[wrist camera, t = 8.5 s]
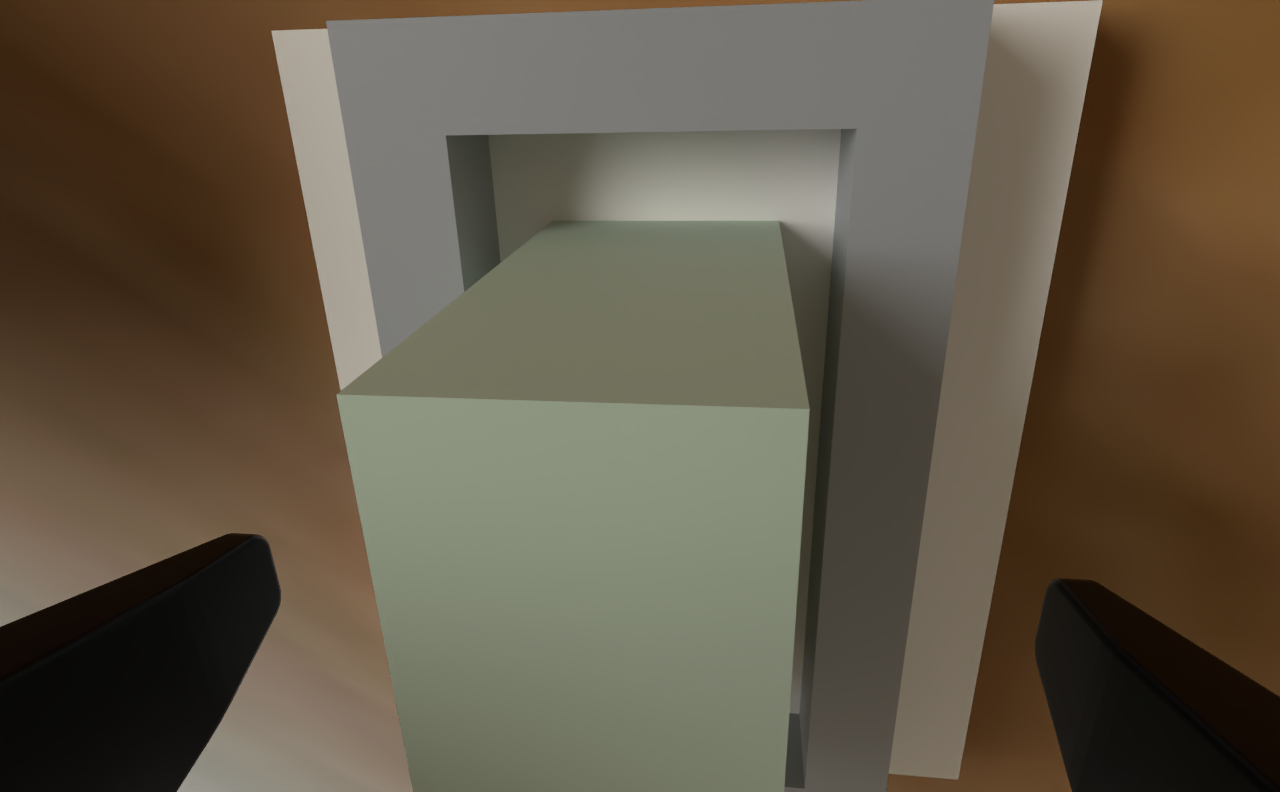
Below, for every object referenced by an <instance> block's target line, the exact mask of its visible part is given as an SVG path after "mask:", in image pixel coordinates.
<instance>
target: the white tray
mask: <svg viewBox="0 0 1280 792" xmlns="http://www.w3.org/2000/svg"><path fill="white" fill-rule="evenodd" d="M1102 1H1103V0H1099V1H1072V2H1044V3H1017V4H994V0H866V1H840V2H813V3H787V4H760V5H734V6H708V7H681V8H655V9H629V10H602V11H576V12H549V13H523V14H497V15H470V16H444V17H418V18H391V19H365V20H338V21H326V24H327V29H305V30H277V31H271V32H272V37H273V42H274V47H275V52H276V58H277V63H278V68H279V73H280V78H281V84H282V89H283V94H284V99H285V104H286V110H287V115H288V120H289V125H290V130H291V136H292V141H293V146H294V151H295V156H296V162H297V167H298V172H299V177H300V182H301V187H302V193H303V198H304V203H305V208H306V213H307V219H308V224H309V229H310V234H311V239H312V245H313V250H314V255H315V260H316V265H317V271H318V276H319V281H320V286H321V291H322V297H323V302H324V307H325V312H326V317H327V323H328V328H329V333H330V338H331V343H332V348H333V354H334V359H335V364H336V369H337V374H338V380H339V385H340V390H343V389H344V388H345V387H346V386H347V385H349V384H350V383H351V382H352V381H354V380H355V379H356V378H357V377H359V376H360V375H361V374H362V373H364V372H365V371H366V370H367V369H369V368H370V367H371V366H372V365H374V364H375V363H376V362H377V361H379V360H380V359H381V358H382V357H384V356H385V355H386V354H387V353H389V352H390V351H391V350H392V349H394V348H395V347H396V346H397V345H399V344H400V343H401V342H402V341H404V340H405V339H406V338H407V337H409V336H410V335H411V334H412V333H414V332H415V331H416V330H417V329H419V328H420V327H421V326H422V325H424V324H425V323H426V322H427V321H429V320H430V319H431V318H432V317H434V316H435V315H436V314H437V313H439V312H440V311H441V310H442V309H444V308H445V307H446V306H447V305H449V304H450V303H451V302H452V301H454V300H455V299H456V298H457V297H459V296H460V295H461V294H462V293H464V292H465V291H466V290H467V289H469V288H470V287H471V286H472V285H474V284H475V283H476V282H477V281H479V280H480V279H481V278H482V277H484V276H485V275H486V274H487V273H489V272H490V271H491V270H492V269H494V268H495V267H496V266H497V265H499V264H500V263H501V262H502V261H504V260H505V259H506V258H507V257H509V256H510V255H511V254H512V253H514V252H515V251H516V250H517V249H519V248H520V247H521V246H522V245H524V244H525V243H526V242H527V241H529V240H530V239H531V238H532V237H534V236H535V235H536V234H537V233H539V232H540V231H541V230H542V229H544V228H545V227H546V226H547V225H549V224H550V223H551V222H552V221H779V224H780V230H781V236H782V242H783V249H784V255H785V261H786V267H787V273H788V279H789V285H790V291H791V298H792V304H793V310H794V316H795V322H796V328H797V334H798V341H799V347H800V353H801V359H802V365H803V371H804V377H805V383H806V390H807V396H808V402H809V408H810V412H809V427H808V442H807V457H806V472H805V487H804V502H803V517H802V532H801V547H800V562H799V577H798V592H797V607H796V622H795V637H794V652H793V667H792V682H791V697H790V712H789V727H788V742H787V757H786V772H785V787H784V792H886V789H887V782H888V774H898V775H910V776H921V777H932V778H943V779H954V780H958V777H959V772H960V766H961V761H962V756H963V750H964V745H965V740H966V734H967V729H968V723H969V718H970V713H971V707H972V702H973V696H974V691H975V686H976V680H977V675H978V669H979V664H980V659H981V653H982V648H983V643H984V637H985V632H986V626H987V621H988V616H989V610H990V605H991V599H992V594H993V589H994V583H995V578H996V573H997V567H998V562H999V556H1000V551H1001V546H1002V540H1003V535H1004V529H1005V524H1006V519H1007V513H1008V508H1009V502H1010V497H1011V492H1012V486H1013V481H1014V476H1015V470H1016V465H1017V459H1018V454H1019V449H1020V443H1021V438H1022V432H1023V427H1024V422H1025V416H1026V411H1027V405H1028V400H1029V395H1030V389H1031V384H1032V379H1033V373H1034V368H1035V362H1036V357H1037V352H1038V346H1039V341H1040V335H1041V330H1042V325H1043V319H1044V314H1045V308H1046V303H1047V298H1048V292H1049V287H1050V282H1051V276H1052V271H1053V265H1054V260H1055V255H1056V249H1057V244H1058V238H1059V233H1060V228H1061V222H1062V217H1063V212H1064V206H1065V201H1066V195H1067V190H1068V185H1069V179H1070V174H1071V168H1072V163H1073V158H1074V152H1075V147H1076V141H1077V136H1078V131H1079V125H1080V120H1081V115H1082V109H1083V104H1084V98H1085V93H1086V88H1087V82H1088V77H1089V71H1090V66H1091V61H1092V55H1093V50H1094V44H1095V39H1096V34H1097V28H1098V23H1099V18H1100V12H1101V7H1102Z"/></svg>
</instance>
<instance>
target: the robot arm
mask: <svg viewBox="0 0 1280 792" xmlns="http://www.w3.org/2000/svg"><path fill="white" fill-rule="evenodd" d="M280 601H281V589H280V585H279V581H278V577H277V573H276V569H275V565H274V561H273V557H272V553H271V549H270V546H269V543H268V542H267V540H266V539H265V538H264V537H262V536H261V535H256V534H239V533H231V534H226V535H223V536H221V537H219V538H216V539H214V540H211V541H209V542H206V543H204V544H201V545H199V546H197V547H194V548H192V549H189V550H187V551H184V552H182V553H179V554H177V555H175V556H172V557H170V558H167V559H165V560H162V561H160V562H158V563H155V564H153V565H150V566H148V567H145V568H143V569H140V570H138V571H136V572H133V573H131V574H128V575H126V576H123V577H121V578H118V579H116V580H114V581H111V582H109V583H106V584H104V585H101V586H99V587H97V588H94V589H92V590H89V591H87V592H84V593H82V594H79V595H77V596H75V597H72V598H70V599H67V600H65V601H62V602H60V603H58V604H55V605H53V606H50V607H48V608H45V609H43V610H40V611H38V612H36V613H33V614H31V615H28V616H26V617H23V618H21V619H18V620H16V621H14V622H11V623H9V624H6V625H4V626H1V627H0V792H177V790H178V789H179V787H180V786H181V784H182V783H183V781H184V779H185V778H186V776H187V775H188V773H189V772H190V770H191V768H192V767H193V765H194V764H195V762H196V761H197V759H198V758H199V756H200V754H201V753H202V751H203V750H204V748H205V747H206V745H207V743H208V742H209V740H210V739H211V737H212V735H213V734H214V732H215V730H216V729H217V727H218V725H219V724H220V722H221V720H222V718H223V716H224V715H225V713H226V711H227V709H228V707H229V705H230V704H231V702H232V700H233V698H234V696H235V694H236V692H237V690H238V688H239V686H240V684H241V682H242V680H243V678H244V676H245V674H246V672H247V670H248V669H249V667H250V665H251V663H252V661H253V659H254V657H255V655H256V653H257V651H258V649H259V647H260V645H261V643H262V641H263V639H264V637H265V635H266V633H267V631H268V629H269V627H270V625H271V624H272V622H273V620H274V618H275V616H276V614H277V611H278V609H279V605H280ZM1035 656H1036V662H1037V666H1038V670H1039V674H1040V677H1041V681H1042V685H1043V688H1044V692H1045V695H1046V699H1047V703H1048V706H1049V710H1050V714H1051V717H1052V721H1053V725H1054V728H1055V732H1056V736H1057V739H1058V743H1059V747H1060V750H1061V754H1062V758H1063V761H1064V765H1065V769H1066V772H1067V776H1068V779H1069V782H1070V786H1071V789H1072V792H1280V697H1279V696H1278V695H1276V694H1274V693H1273V692H1271V691H1270V690H1268V689H1266V688H1265V687H1263V686H1262V685H1260V684H1258V683H1257V682H1255V681H1254V680H1252V679H1250V678H1249V677H1247V676H1246V675H1244V674H1242V673H1241V672H1239V671H1238V670H1236V669H1234V668H1233V667H1231V666H1230V665H1228V664H1226V663H1225V662H1223V661H1222V660H1220V659H1218V658H1217V657H1215V656H1214V655H1212V654H1210V653H1209V652H1207V651H1206V650H1204V649H1203V648H1201V647H1199V646H1198V645H1196V644H1195V643H1193V642H1191V641H1190V640H1188V639H1187V638H1185V637H1183V636H1182V635H1180V634H1179V633H1177V632H1175V631H1174V630H1172V629H1171V628H1169V627H1167V626H1166V625H1164V624H1163V623H1161V622H1159V621H1158V620H1156V619H1155V618H1153V617H1151V616H1150V615H1148V614H1147V613H1145V612H1143V611H1142V610H1140V609H1139V608H1137V607H1136V606H1134V605H1132V604H1131V603H1129V602H1128V601H1126V600H1124V599H1123V598H1121V597H1120V596H1118V595H1116V594H1115V593H1113V592H1112V591H1110V590H1108V589H1107V588H1105V587H1104V586H1102V585H1100V584H1099V583H1097V582H1095V581H1092V580H1080V579H1060V578H1057V579H1054V580H1053V581H1051V582H1050V583H1049V585H1048V587H1047V589H1046V593H1045V598H1044V602H1043V607H1042V611H1041V616H1040V621H1039V625H1038V630H1037V634H1036V640H1035Z"/></svg>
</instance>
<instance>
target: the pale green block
mask: <svg viewBox="0 0 1280 792" xmlns="http://www.w3.org/2000/svg"><path fill="white" fill-rule="evenodd" d="M336 396H337V401H338V406H339V411H340V416H341V422H342V427H343V432H344V437H345V442H346V447H347V453H348V458H349V463H350V468H351V473H352V478H353V483H354V489H355V494H356V499H357V504H358V509H359V514H360V520H361V525H362V530H363V535H364V540H365V545H366V550H367V556H368V561H369V566H370V571H371V576H372V581H373V586H374V592H375V597H376V602H377V607H378V612H379V617H380V623H381V628H382V633H383V638H384V643H385V648H386V653H387V659H388V664H389V669H390V674H391V679H392V684H393V690H394V695H395V700H396V705H397V710H398V715H399V720H400V726H401V731H402V736H403V741H404V746H405V751H406V757H407V762H408V767H409V772H410V777H411V782H412V787H413V792H784V787H785V772H786V757H787V742H788V727H789V712H790V697H791V682H792V667H793V652H794V637H795V622H796V607H797V592H798V577H799V562H800V547H801V532H802V517H803V502H804V487H805V472H806V457H807V442H808V427H809V412H810V408H809V402H808V396H807V390H806V383H805V377H804V371H803V365H802V359H801V353H800V347H799V341H798V334H797V328H796V322H795V316H794V310H793V304H792V298H791V291H790V285H789V279H788V273H787V267H786V261H785V255H784V249H783V242H782V236H781V230H780V224H779V221H552V222H551V223H550V224H549V225H547V226H546V227H545V228H544V229H542V230H541V231H540V232H539V233H537V234H536V235H535V236H534V237H532V238H531V239H530V240H529V241H527V242H526V243H525V244H524V245H522V246H521V247H520V248H519V249H517V250H516V251H515V252H514V253H512V254H511V255H510V256H509V257H507V258H506V259H505V260H504V261H502V262H501V263H500V264H499V265H497V266H496V267H495V268H494V269H492V270H491V271H490V272H489V273H487V274H486V275H485V276H484V277H482V278H481V279H480V280H479V281H477V282H476V283H475V284H474V285H472V286H471V287H470V288H469V289H467V290H466V291H465V292H464V293H462V294H461V295H460V296H459V297H457V298H456V299H455V300H454V301H452V302H451V303H450V304H449V305H447V306H446V307H445V308H444V309H442V310H441V311H440V312H439V313H437V314H436V315H435V316H434V317H432V318H431V319H430V320H429V321H427V322H426V323H425V324H424V325H422V326H421V327H420V328H419V329H417V330H416V331H415V332H414V333H412V334H411V335H410V336H409V337H407V338H406V339H405V340H404V341H402V342H401V343H400V344H399V345H397V346H396V347H395V348H394V349H392V350H391V351H390V352H389V353H387V354H386V355H385V356H384V357H382V358H381V359H380V360H379V361H377V362H376V363H375V364H374V365H372V366H371V367H370V368H369V369H367V370H366V371H365V372H364V373H362V374H361V375H360V376H359V377H357V378H356V379H355V380H354V381H352V382H351V383H350V384H349V385H347V386H346V387H345V388H344V389H343V390H341V391H340V392H339V393H338V394H336Z"/></svg>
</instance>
